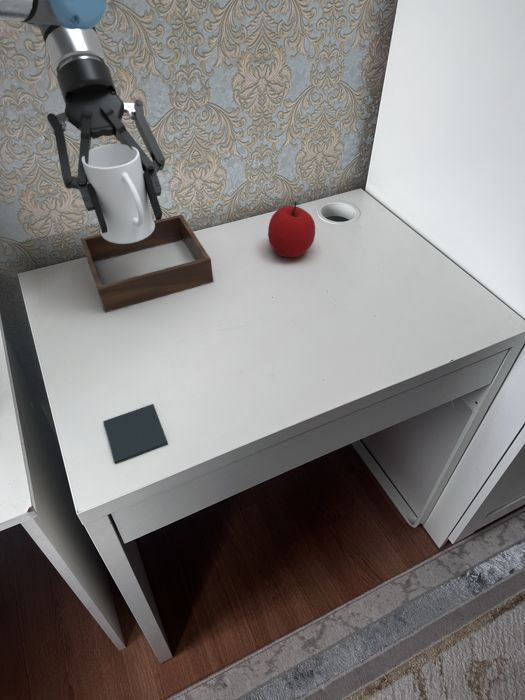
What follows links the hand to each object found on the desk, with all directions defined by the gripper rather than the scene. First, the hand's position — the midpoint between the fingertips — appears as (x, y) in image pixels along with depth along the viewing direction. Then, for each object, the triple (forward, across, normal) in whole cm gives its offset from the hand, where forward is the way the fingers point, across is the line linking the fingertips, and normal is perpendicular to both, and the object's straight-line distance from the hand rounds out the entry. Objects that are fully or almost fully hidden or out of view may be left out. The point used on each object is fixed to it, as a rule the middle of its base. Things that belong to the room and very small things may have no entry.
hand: (132, 223), depth 71 cm
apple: (+8, -29, -14) cm, 34 cm away
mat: (+29, +9, +6) cm, 31 cm away
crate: (+4, -2, -18) cm, 19 cm away
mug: (0, 0, -5) cm, 5 cm away
